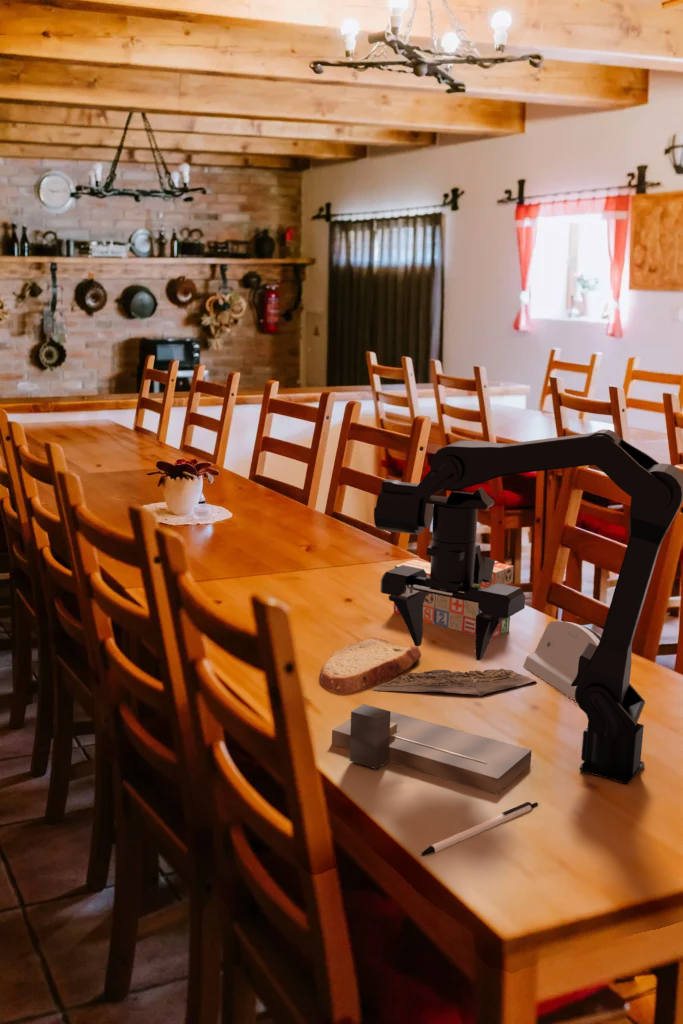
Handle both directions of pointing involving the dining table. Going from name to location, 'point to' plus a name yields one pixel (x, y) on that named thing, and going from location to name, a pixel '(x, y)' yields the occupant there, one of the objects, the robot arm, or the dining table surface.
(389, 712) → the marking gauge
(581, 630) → the beige ledged stand
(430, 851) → the pen
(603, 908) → the dining table surface
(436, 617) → the stack of blocks
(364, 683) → the bread slice
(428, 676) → the wooden fragment
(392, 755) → the gray rectangular board
